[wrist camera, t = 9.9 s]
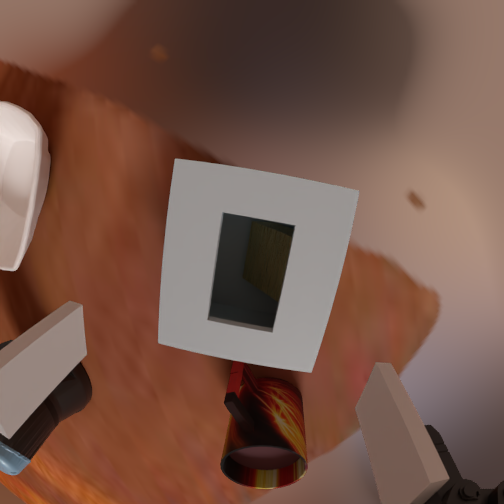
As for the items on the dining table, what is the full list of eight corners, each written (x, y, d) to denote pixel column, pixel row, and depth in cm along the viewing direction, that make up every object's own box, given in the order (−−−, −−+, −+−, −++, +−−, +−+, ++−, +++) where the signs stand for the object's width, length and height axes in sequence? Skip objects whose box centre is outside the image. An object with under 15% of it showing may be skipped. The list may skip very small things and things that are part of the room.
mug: (239, 346, 36) (225, 412, 25) (316, 400, 38) (325, 466, 26) (196, 387, 39) (172, 449, 27) (270, 433, 40) (266, 495, 28)
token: (242, 277, 31) (289, 309, 26) (252, 221, 30) (304, 241, 24) (265, 276, 33) (313, 305, 27) (275, 222, 32) (328, 242, 26)
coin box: (187, 300, 35) (158, 343, 26) (204, 163, 31) (175, 158, 22) (303, 322, 35) (311, 372, 25) (334, 186, 31) (359, 190, 21)
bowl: (61, 270, 36) (22, 291, 28) (-15, 221, 36) (-51, 231, 27) (97, 122, 31) (55, 112, 23) (10, 100, 30) (-28, 95, 22)
